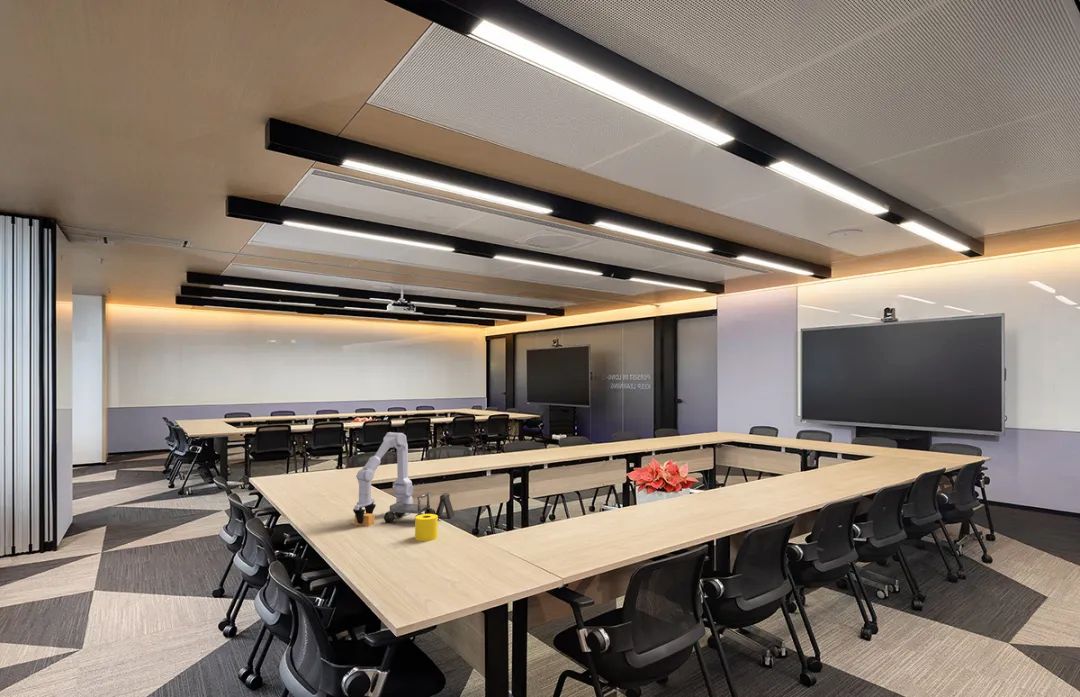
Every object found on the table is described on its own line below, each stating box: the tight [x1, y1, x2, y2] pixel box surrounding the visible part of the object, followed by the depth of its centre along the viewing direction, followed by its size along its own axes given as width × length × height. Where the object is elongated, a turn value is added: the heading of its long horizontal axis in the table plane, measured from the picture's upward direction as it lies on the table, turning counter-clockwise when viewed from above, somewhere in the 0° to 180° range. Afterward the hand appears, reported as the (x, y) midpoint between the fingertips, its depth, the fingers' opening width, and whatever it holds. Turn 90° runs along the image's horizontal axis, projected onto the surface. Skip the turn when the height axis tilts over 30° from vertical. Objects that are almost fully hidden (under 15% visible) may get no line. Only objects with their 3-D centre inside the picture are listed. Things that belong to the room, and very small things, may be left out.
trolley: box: [383, 492, 436, 524], centre depth 275 cm, size 12×22×14 cm, turn 75°
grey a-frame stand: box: [435, 492, 456, 520], centre depth 282 cm, size 9×6×12 cm, turn 78°
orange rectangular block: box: [354, 512, 375, 527], centre depth 269 cm, size 4×8×5 cm, turn 73°
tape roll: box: [414, 513, 439, 542], centre depth 246 cm, size 10×10×9 cm
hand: (364, 521), depth 269 cm, fingers open, 7 cm apart
